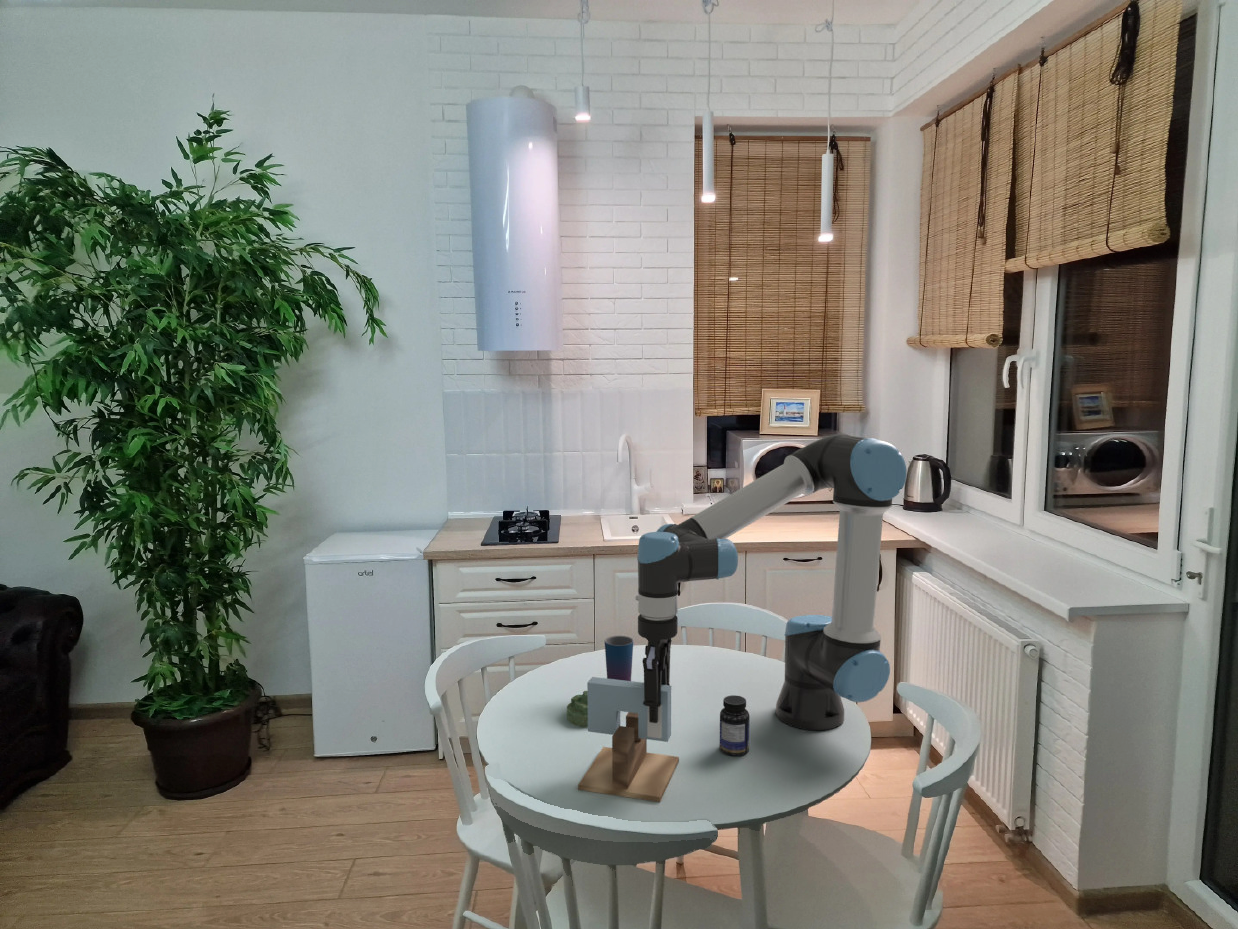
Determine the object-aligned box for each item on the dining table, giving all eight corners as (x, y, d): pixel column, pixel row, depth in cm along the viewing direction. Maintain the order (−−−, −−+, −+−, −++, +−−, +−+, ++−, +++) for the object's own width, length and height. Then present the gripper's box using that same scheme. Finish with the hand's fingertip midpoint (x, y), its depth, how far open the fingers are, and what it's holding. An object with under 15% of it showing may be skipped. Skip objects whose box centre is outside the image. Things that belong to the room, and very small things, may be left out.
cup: (630, 708, 194) (630, 646, 192) (602, 706, 196) (601, 644, 194) (635, 696, 201) (635, 636, 199) (608, 694, 202) (607, 634, 200)
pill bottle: (729, 740, 178) (730, 691, 177) (754, 749, 174) (755, 698, 173) (713, 751, 173) (714, 700, 172) (739, 760, 170) (739, 708, 168)
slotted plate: (671, 735, 162) (671, 685, 160) (667, 742, 159) (667, 691, 158) (592, 725, 166) (592, 676, 165) (587, 731, 163) (587, 682, 162)
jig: (678, 761, 169) (679, 709, 168) (660, 802, 154) (660, 745, 152) (603, 751, 174) (603, 700, 172) (578, 789, 158) (577, 734, 157)
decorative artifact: (617, 723, 187) (602, 706, 196) (617, 693, 186) (602, 677, 195) (574, 730, 183) (561, 712, 193) (574, 700, 183) (561, 683, 192)
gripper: (649, 600, 166) (648, 713, 170) (626, 626, 151) (626, 748, 154) (686, 604, 164) (684, 717, 167) (667, 629, 149) (666, 754, 152)
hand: (657, 732), depth 161 cm, fingers closed on slotted plate, 3 cm apart
